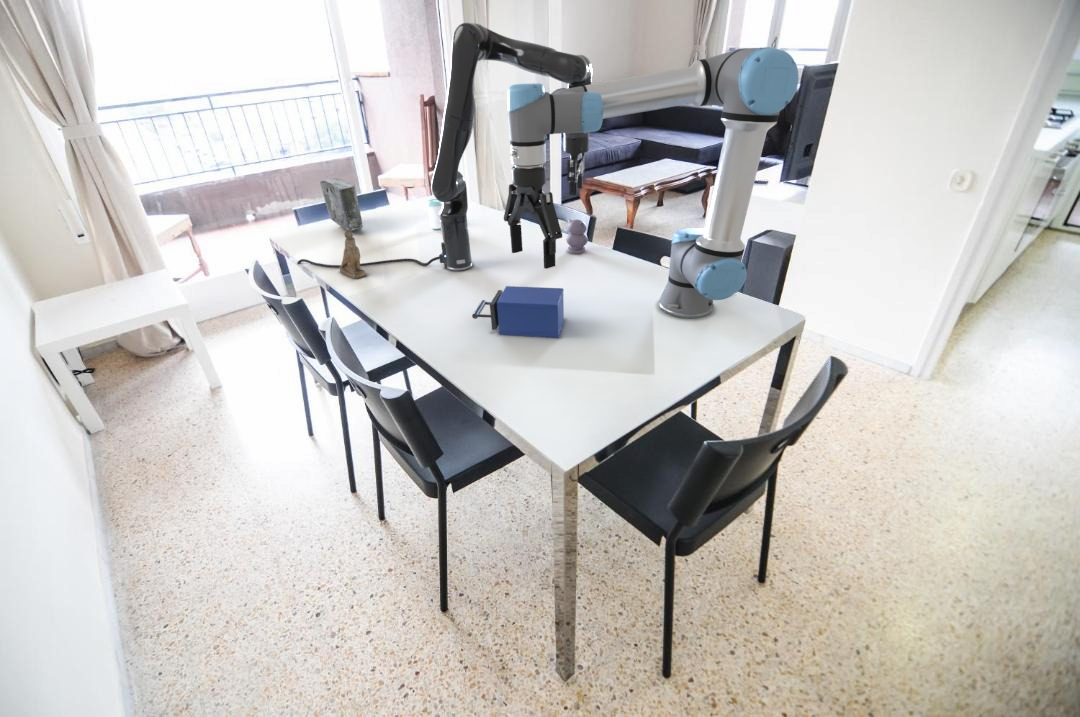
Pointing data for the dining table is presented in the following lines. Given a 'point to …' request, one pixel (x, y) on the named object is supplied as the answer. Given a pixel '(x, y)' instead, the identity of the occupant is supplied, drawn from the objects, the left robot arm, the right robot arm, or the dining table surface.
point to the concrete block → (342, 203)
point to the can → (434, 213)
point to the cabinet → (531, 311)
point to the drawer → (492, 310)
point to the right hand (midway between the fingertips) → (532, 259)
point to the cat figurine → (576, 236)
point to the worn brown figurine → (351, 258)
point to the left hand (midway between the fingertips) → (576, 191)
